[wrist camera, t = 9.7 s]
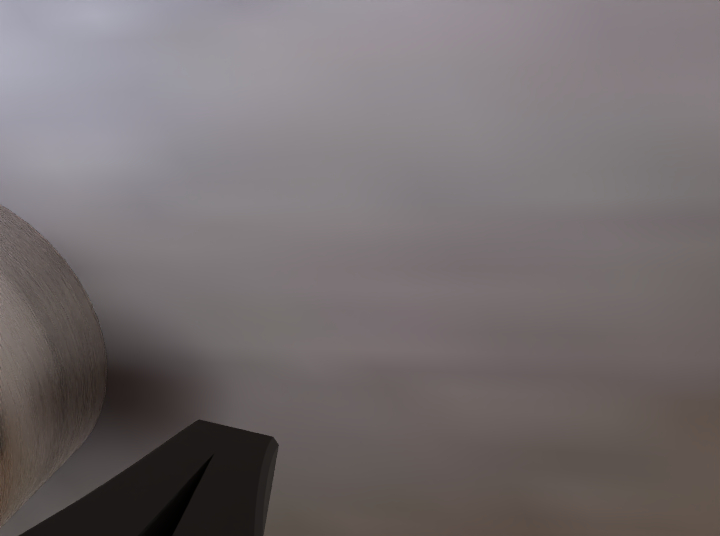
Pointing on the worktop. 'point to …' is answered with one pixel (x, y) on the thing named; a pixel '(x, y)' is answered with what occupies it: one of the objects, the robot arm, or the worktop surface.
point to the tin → (43, 363)
